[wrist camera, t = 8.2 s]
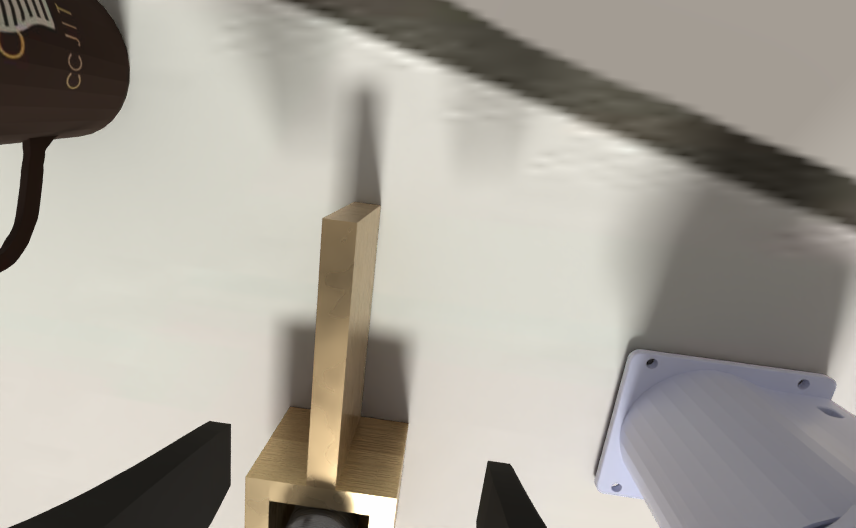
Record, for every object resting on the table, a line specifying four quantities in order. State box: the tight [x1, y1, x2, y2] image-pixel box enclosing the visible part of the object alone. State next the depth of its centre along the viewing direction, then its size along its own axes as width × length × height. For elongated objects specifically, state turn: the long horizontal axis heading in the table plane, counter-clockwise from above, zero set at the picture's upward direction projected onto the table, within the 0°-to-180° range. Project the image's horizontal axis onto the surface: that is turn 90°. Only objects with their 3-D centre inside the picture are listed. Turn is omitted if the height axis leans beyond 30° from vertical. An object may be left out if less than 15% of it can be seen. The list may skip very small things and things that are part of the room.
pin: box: [285, 505, 361, 528], centre depth 20 cm, size 3×3×7 cm
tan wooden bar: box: [245, 202, 408, 528], centre depth 21 cm, size 6×28×5 cm, turn 173°
